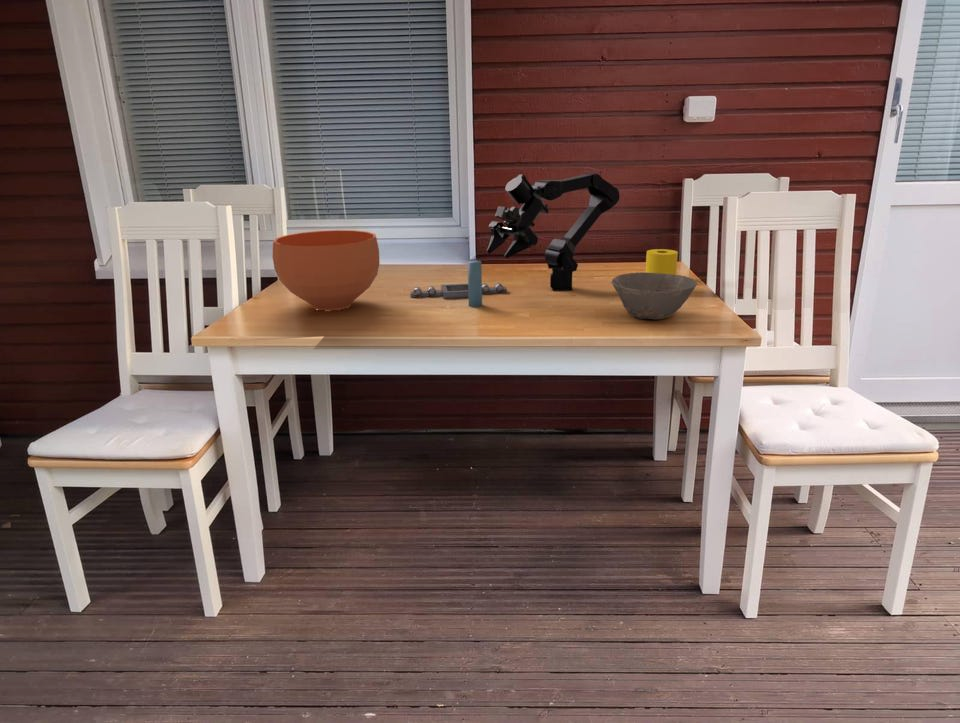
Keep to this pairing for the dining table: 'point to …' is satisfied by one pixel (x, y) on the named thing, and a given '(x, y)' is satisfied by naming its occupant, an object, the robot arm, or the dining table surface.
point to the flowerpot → (327, 265)
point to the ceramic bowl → (653, 293)
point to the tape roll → (661, 261)
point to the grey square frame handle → (455, 291)
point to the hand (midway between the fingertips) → (496, 255)
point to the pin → (475, 283)
